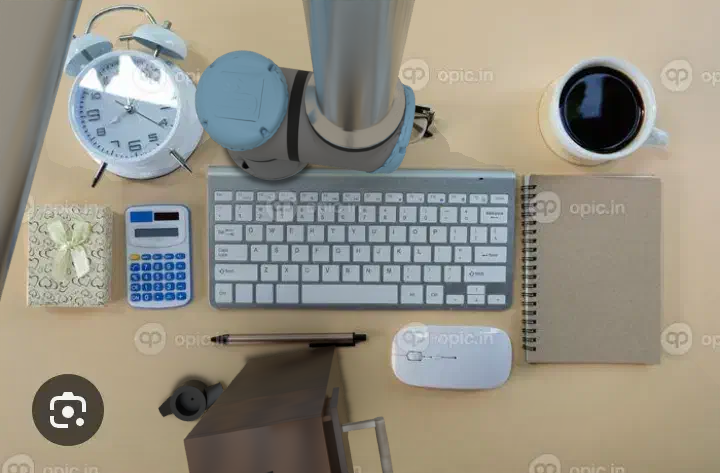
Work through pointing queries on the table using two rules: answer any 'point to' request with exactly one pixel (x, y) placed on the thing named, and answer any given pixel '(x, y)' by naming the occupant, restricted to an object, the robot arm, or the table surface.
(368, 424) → the drawer
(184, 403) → the dark grey rounded piece
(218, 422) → the slanted brown box
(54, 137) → the table surface
